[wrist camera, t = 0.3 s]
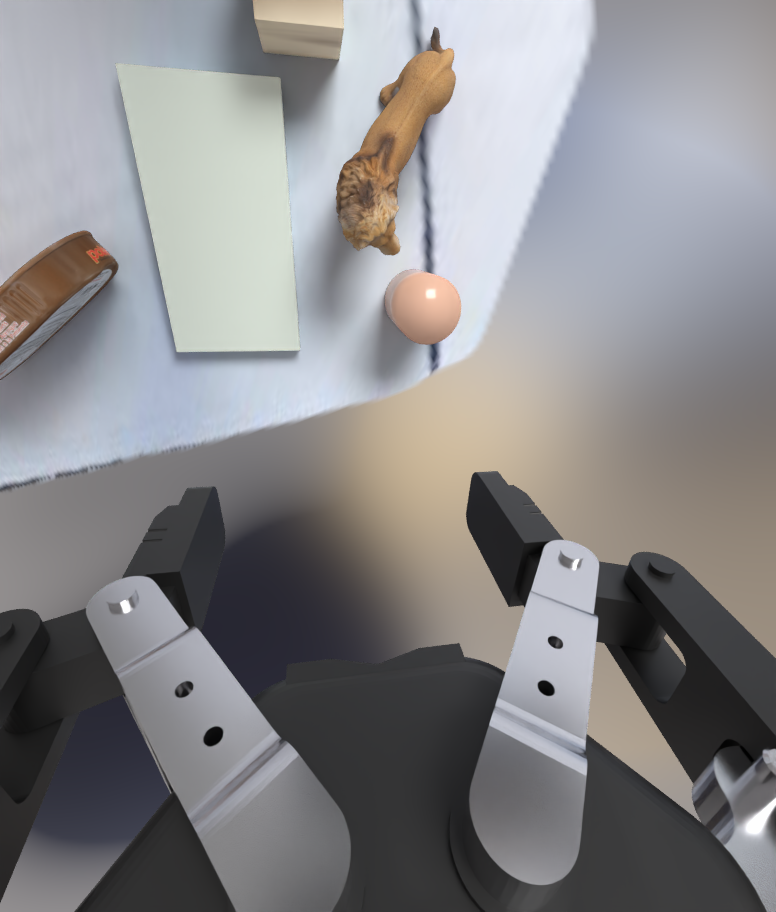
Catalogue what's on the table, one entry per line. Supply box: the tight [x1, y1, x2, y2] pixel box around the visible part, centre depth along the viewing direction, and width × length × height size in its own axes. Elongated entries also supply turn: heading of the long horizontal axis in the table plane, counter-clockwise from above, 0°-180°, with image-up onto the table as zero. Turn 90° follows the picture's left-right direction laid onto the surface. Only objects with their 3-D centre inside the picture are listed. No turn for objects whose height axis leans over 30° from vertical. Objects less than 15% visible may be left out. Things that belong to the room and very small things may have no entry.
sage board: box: [115, 63, 300, 352], centre depth 31 cm, size 18×10×1 cm, turn 179°
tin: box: [0, 231, 118, 380], centre depth 29 cm, size 15×3×8 cm, turn 126°
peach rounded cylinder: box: [385, 269, 461, 345], centre depth 34 cm, size 5×5×6 cm
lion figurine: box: [336, 27, 456, 255], centre depth 27 cm, size 15×5×9 cm, turn 155°
